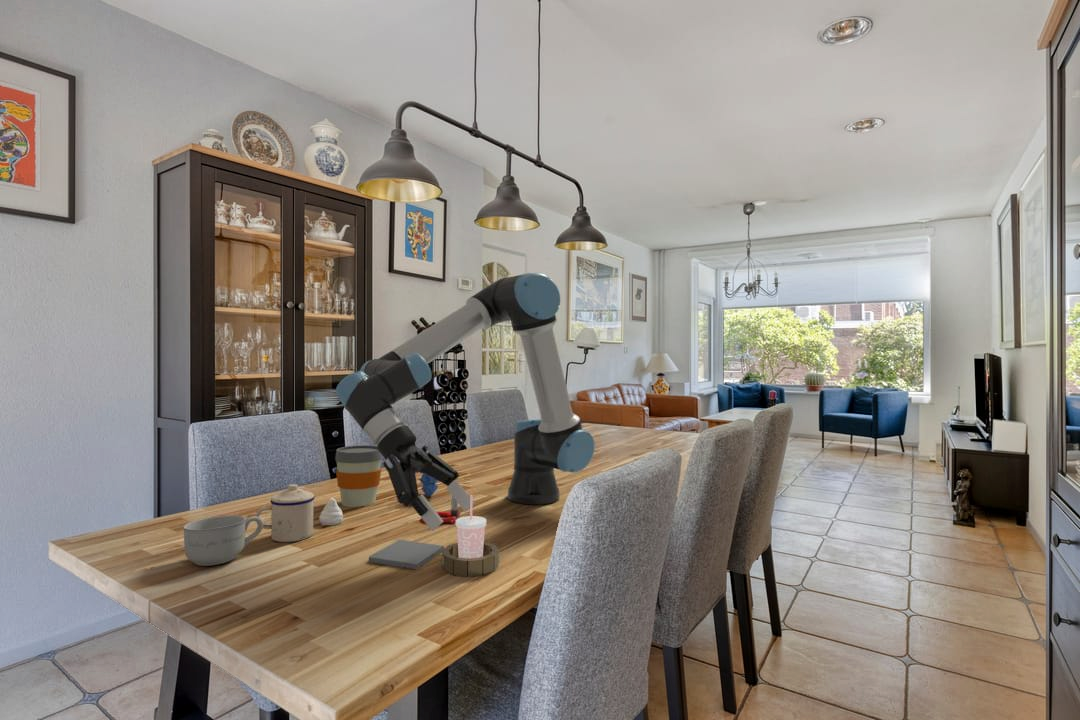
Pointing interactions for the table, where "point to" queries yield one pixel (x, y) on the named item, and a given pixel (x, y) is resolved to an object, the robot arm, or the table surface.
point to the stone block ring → (470, 561)
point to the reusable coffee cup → (358, 474)
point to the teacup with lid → (290, 515)
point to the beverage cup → (470, 535)
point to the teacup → (217, 538)
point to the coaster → (406, 554)
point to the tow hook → (450, 513)
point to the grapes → (428, 484)
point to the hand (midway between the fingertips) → (455, 516)
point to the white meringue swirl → (331, 514)
